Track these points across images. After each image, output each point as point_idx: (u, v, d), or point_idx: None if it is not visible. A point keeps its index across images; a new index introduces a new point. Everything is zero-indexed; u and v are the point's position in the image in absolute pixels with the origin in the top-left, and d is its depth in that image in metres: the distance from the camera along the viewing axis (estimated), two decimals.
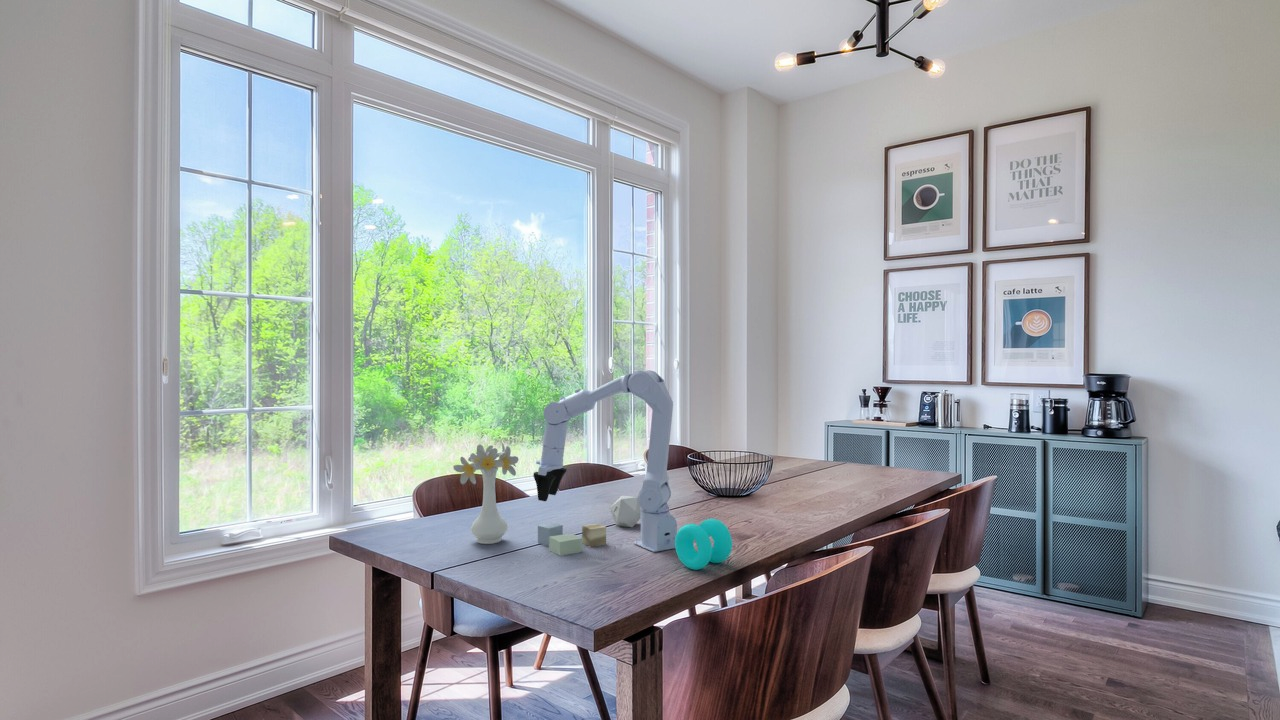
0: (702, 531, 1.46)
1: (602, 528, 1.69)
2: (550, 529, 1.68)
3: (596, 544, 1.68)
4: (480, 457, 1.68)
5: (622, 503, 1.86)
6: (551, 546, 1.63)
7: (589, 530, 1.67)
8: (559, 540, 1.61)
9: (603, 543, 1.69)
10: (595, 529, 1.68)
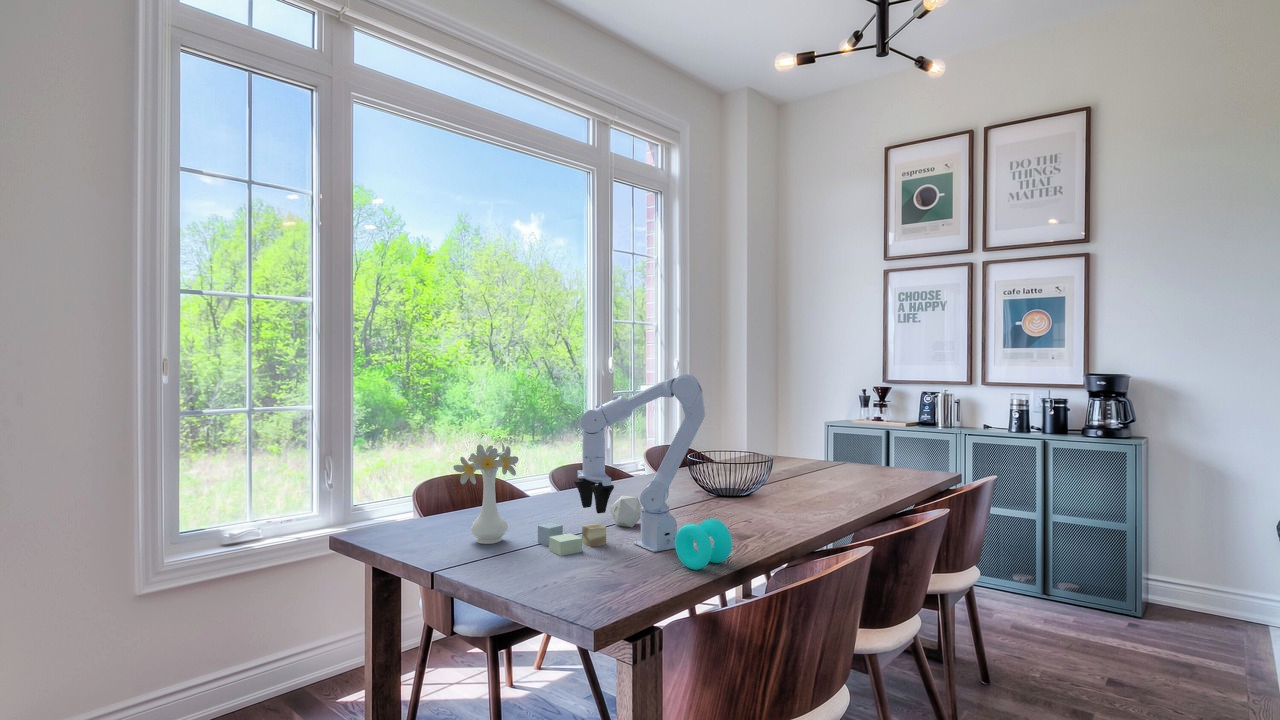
0: (702, 531, 1.46)
1: (602, 528, 1.69)
2: (550, 529, 1.68)
3: (596, 544, 1.68)
4: (480, 457, 1.68)
5: (622, 503, 1.86)
6: (551, 546, 1.63)
7: (589, 530, 1.67)
8: (559, 540, 1.61)
9: (603, 543, 1.69)
10: (595, 529, 1.68)
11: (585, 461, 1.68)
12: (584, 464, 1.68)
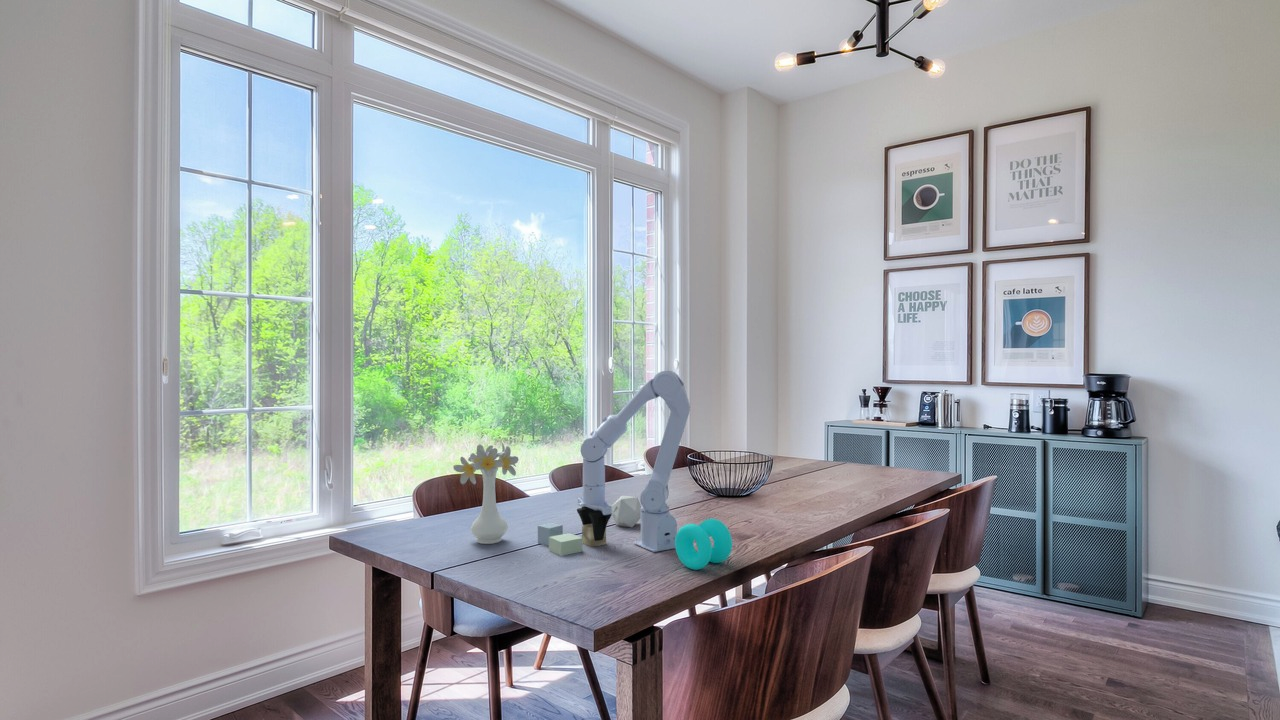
0: (702, 531, 1.46)
1: None
2: (550, 529, 1.68)
3: (596, 544, 1.68)
4: (480, 457, 1.68)
5: (622, 503, 1.86)
6: (551, 546, 1.63)
7: (589, 530, 1.67)
8: (560, 540, 1.61)
9: (603, 543, 1.69)
10: None
11: (585, 489, 1.68)
12: (584, 492, 1.68)
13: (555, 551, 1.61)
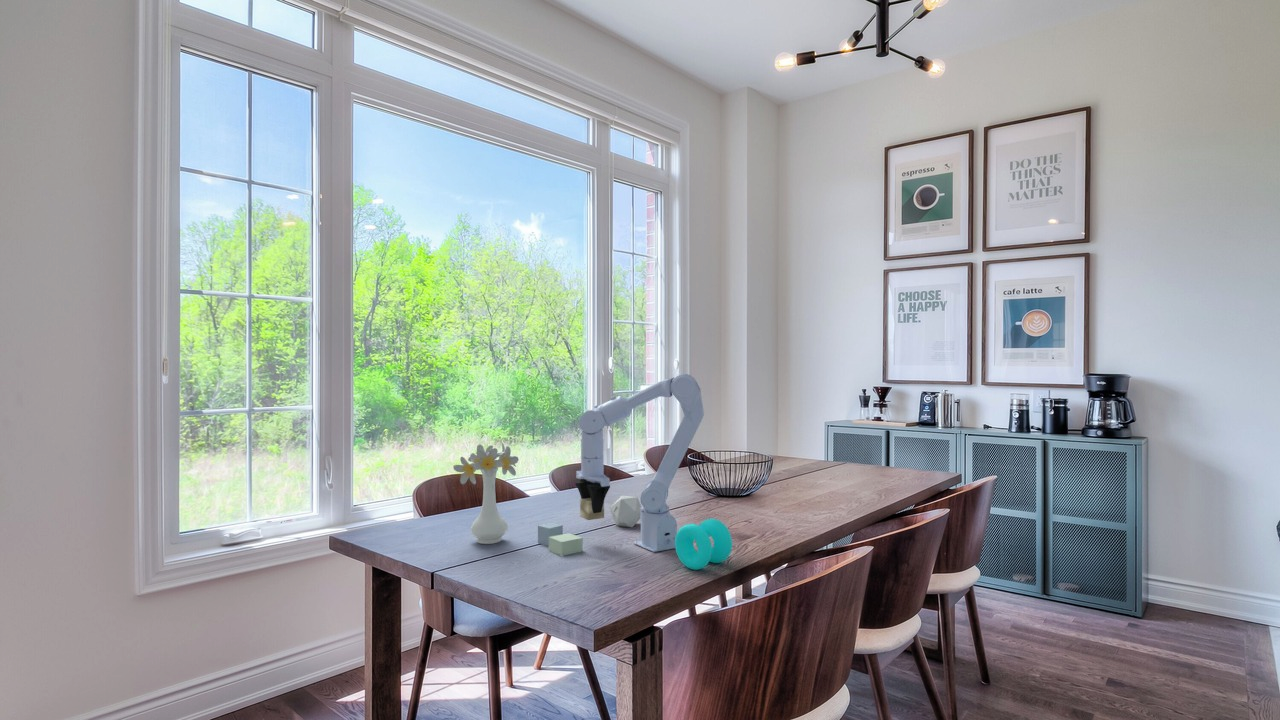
0: (702, 531, 1.46)
1: None
2: (550, 529, 1.68)
3: (594, 517, 1.67)
4: (480, 457, 1.68)
5: (622, 503, 1.86)
6: (551, 546, 1.63)
7: (587, 503, 1.67)
8: (560, 540, 1.61)
9: (601, 516, 1.69)
10: None
11: (583, 461, 1.68)
12: (582, 464, 1.68)
13: (555, 551, 1.61)
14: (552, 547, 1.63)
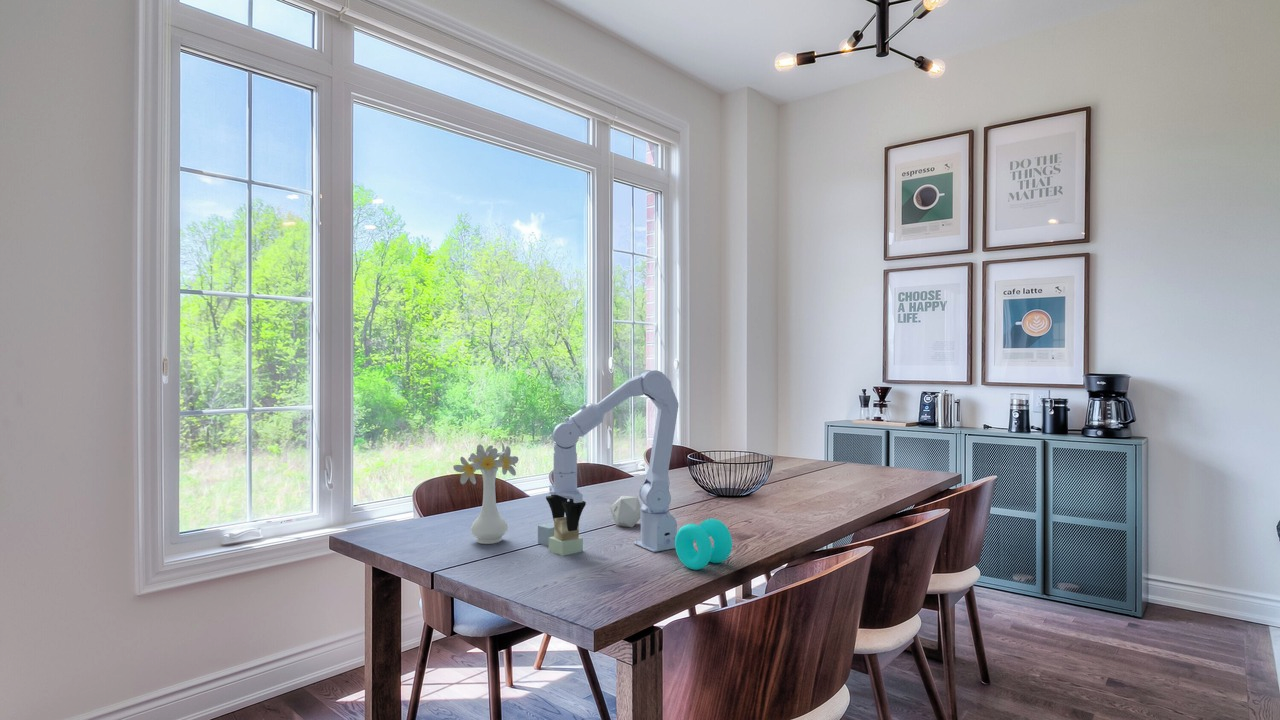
0: (702, 531, 1.46)
1: None
2: (550, 529, 1.68)
3: (568, 538, 1.61)
4: (480, 457, 1.68)
5: (622, 503, 1.86)
6: (551, 547, 1.63)
7: (561, 523, 1.61)
8: None
9: (575, 537, 1.62)
10: None
11: (556, 477, 1.62)
12: (555, 480, 1.62)
13: (556, 551, 1.61)
14: (552, 547, 1.62)
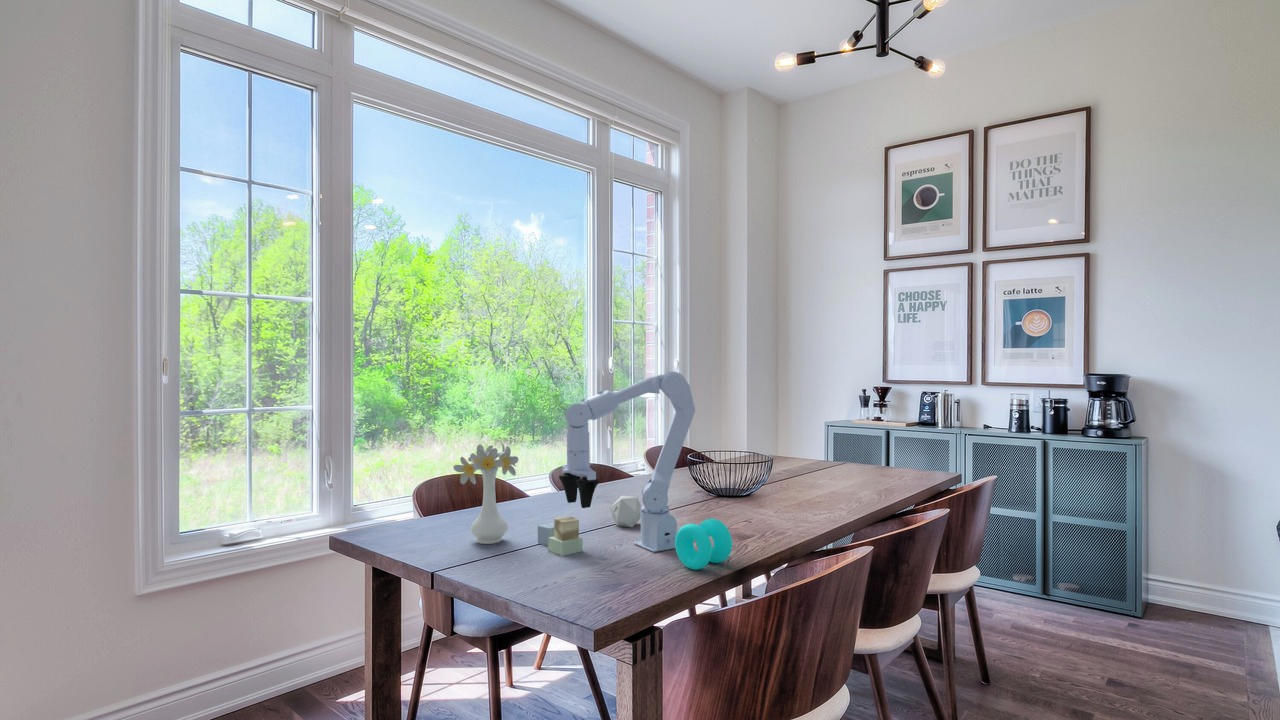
0: (702, 531, 1.46)
1: (574, 521, 1.62)
2: (550, 529, 1.68)
3: (568, 538, 1.61)
4: (480, 457, 1.68)
5: (622, 503, 1.86)
6: (551, 547, 1.63)
7: (561, 523, 1.61)
8: None
9: (575, 537, 1.63)
10: (567, 522, 1.61)
11: (569, 455, 1.66)
12: (568, 458, 1.66)
13: (555, 551, 1.61)
14: (552, 547, 1.62)
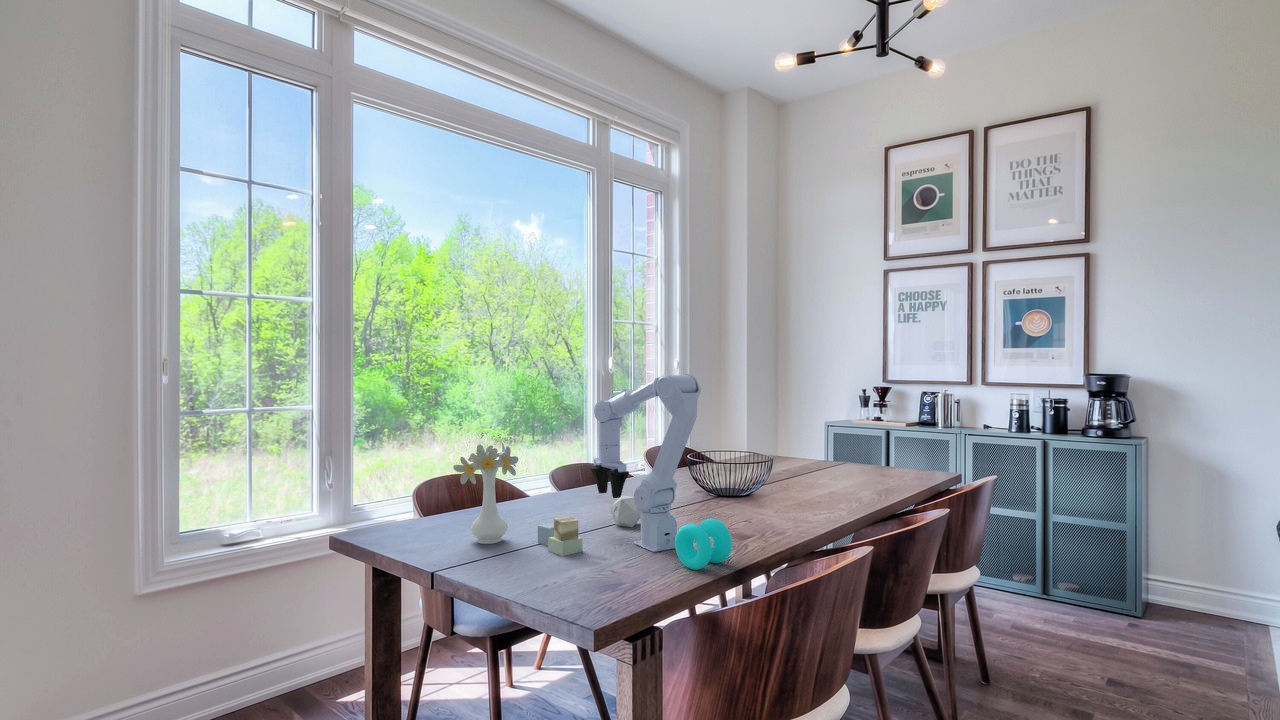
0: (702, 531, 1.46)
1: (574, 521, 1.62)
2: (550, 529, 1.68)
3: (567, 538, 1.61)
4: (480, 457, 1.68)
5: (622, 503, 1.86)
6: (551, 547, 1.63)
7: (560, 523, 1.61)
8: (561, 541, 1.60)
9: (575, 537, 1.62)
10: (566, 522, 1.61)
11: (601, 449, 1.78)
12: (600, 452, 1.78)
13: (555, 552, 1.61)
14: (552, 548, 1.62)
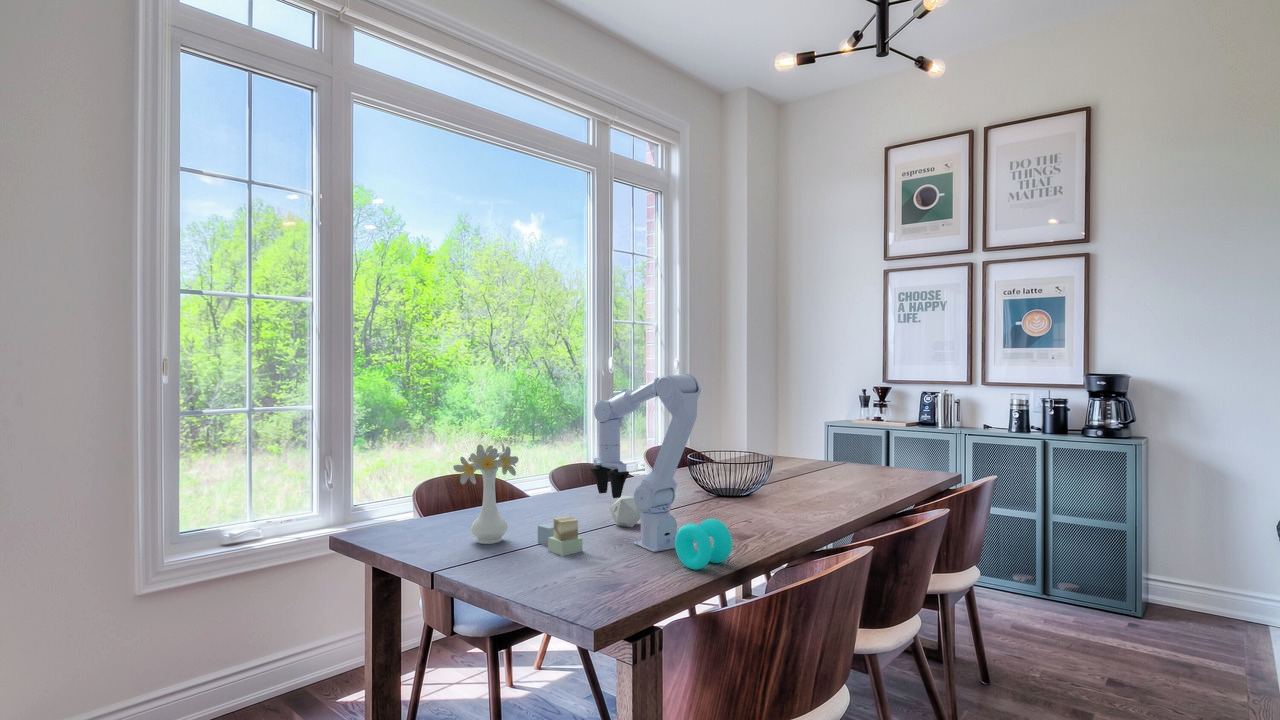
0: (702, 531, 1.46)
1: (573, 521, 1.62)
2: (550, 529, 1.68)
3: (567, 538, 1.61)
4: (480, 457, 1.68)
5: (622, 503, 1.86)
6: (551, 547, 1.63)
7: (559, 523, 1.61)
8: None
9: (574, 537, 1.62)
10: (566, 522, 1.61)
11: (601, 449, 1.78)
12: (600, 452, 1.78)
13: (555, 551, 1.61)
14: (552, 548, 1.62)
